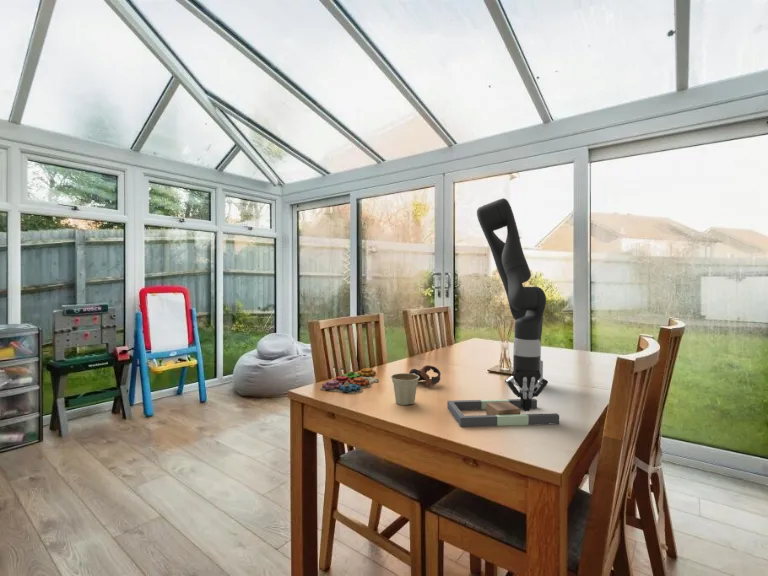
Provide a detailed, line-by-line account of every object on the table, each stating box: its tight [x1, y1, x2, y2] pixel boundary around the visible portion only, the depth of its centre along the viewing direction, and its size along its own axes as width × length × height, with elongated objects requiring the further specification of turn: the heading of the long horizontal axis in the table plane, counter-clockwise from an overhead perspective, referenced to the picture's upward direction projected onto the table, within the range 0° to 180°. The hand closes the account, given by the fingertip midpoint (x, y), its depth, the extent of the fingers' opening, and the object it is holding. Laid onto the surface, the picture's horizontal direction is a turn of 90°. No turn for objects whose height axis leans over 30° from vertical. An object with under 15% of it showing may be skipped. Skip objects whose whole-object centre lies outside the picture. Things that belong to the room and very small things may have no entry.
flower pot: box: [390, 372, 420, 406], centre depth 131 cm, size 9×9×9 cm
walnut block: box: [485, 401, 521, 415], centre depth 116 cm, size 7×7×4 cm
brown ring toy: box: [408, 364, 441, 389], centre depth 152 cm, size 12×10×8 cm
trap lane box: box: [446, 398, 560, 428], centre depth 118 cm, size 28×15×2 cm, turn 95°
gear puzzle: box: [319, 367, 380, 395], centre depth 156 cm, size 31×16×4 cm, turn 157°
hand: (525, 410), depth 119 cm, fingers closed
